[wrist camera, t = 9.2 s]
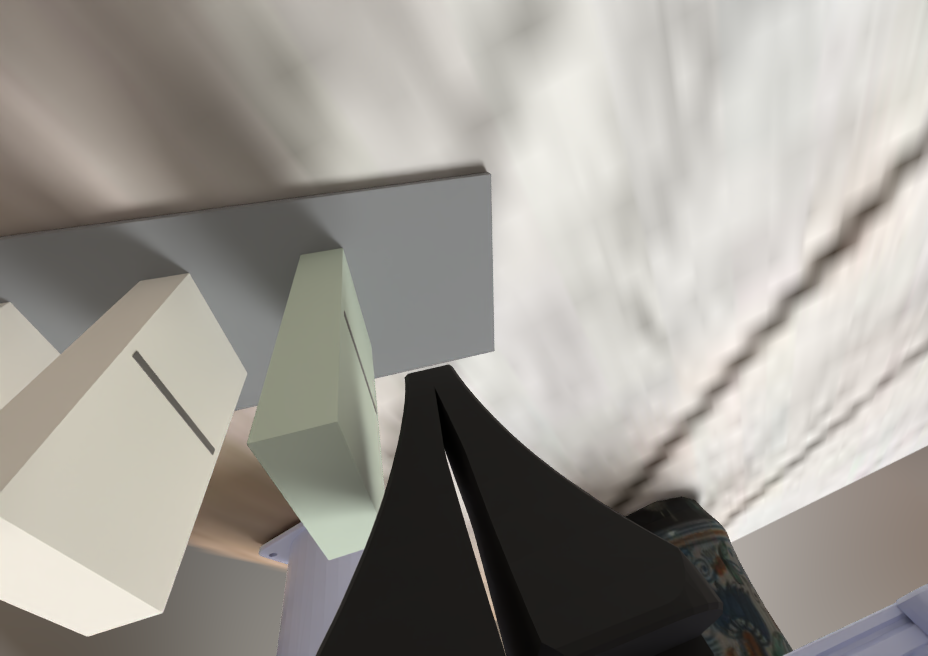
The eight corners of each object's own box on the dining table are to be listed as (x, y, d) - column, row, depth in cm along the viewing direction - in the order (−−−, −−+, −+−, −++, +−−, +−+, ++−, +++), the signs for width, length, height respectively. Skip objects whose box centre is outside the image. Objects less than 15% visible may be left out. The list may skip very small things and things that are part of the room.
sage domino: (343, 247, 14) (338, 421, 7) (372, 346, 17) (389, 540, 9) (300, 255, 13) (245, 444, 6) (336, 354, 16) (327, 560, 9)
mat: (487, 172, 14) (490, 174, 14) (492, 346, 19) (494, 351, 19) (-1086, 380, 8) (-1147, 393, 7) (-436, 557, 13) (-456, 569, 12)
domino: (189, 272, 13) (-13, 508, 6) (247, 373, 16) (163, 612, 9) (139, 281, 12) (-142, 540, 5) (208, 381, 15) (86, 636, 8)
